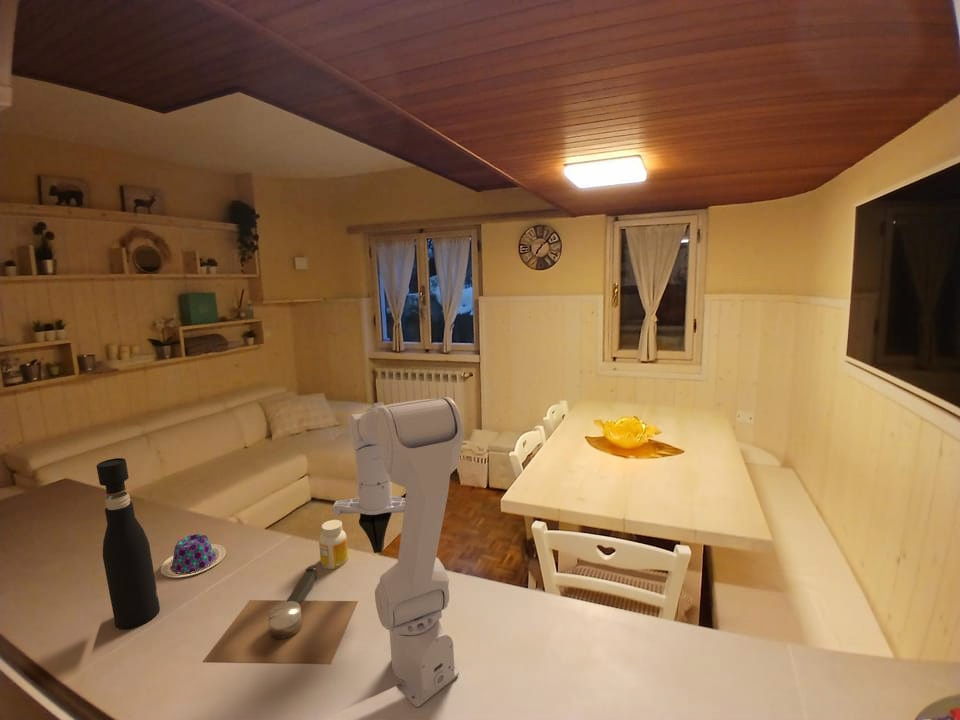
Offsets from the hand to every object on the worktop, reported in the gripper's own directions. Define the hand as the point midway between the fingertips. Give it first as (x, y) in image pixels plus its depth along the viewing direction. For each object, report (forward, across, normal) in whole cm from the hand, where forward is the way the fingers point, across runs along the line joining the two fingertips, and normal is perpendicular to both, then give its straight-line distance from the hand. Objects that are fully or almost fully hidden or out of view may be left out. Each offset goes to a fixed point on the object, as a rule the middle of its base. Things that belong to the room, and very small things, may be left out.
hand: (378, 549), depth 86 cm
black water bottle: (+11, +42, +5) cm, 43 cm away
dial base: (+10, +14, +8) cm, 19 cm away
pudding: (+11, +43, -14) cm, 46 cm away
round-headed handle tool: (+9, +14, +4) cm, 17 cm away
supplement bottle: (+11, +12, -11) cm, 19 cm away
